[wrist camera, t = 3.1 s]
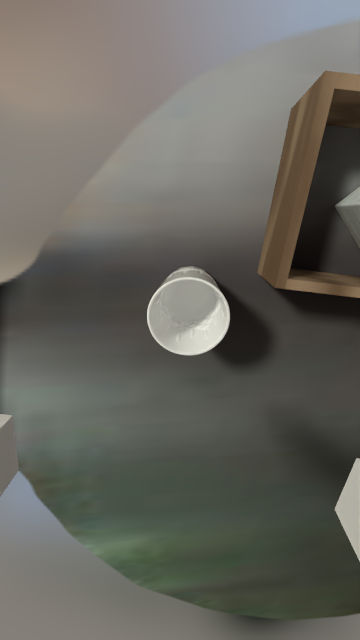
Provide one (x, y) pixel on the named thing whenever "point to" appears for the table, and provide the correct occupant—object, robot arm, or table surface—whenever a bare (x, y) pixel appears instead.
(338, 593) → the table surface
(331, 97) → the walnut bin
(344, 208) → the supplement box
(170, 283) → the white cup
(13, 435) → the robot arm
